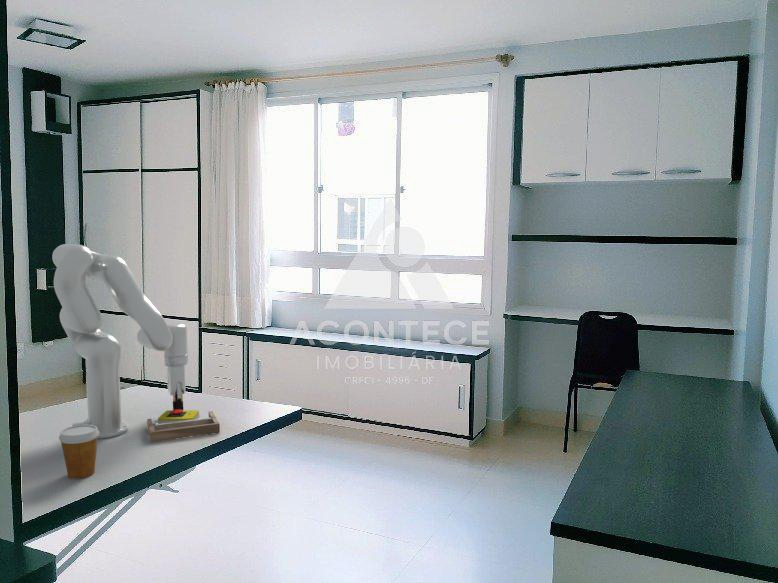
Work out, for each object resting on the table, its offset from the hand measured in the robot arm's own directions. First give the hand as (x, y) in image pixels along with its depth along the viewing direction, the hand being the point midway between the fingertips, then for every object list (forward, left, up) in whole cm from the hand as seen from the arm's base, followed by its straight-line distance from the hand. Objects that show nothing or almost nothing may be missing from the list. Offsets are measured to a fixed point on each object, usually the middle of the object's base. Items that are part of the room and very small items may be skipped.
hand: (178, 412), depth 211 cm
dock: (0, -16, -1) cm, 16 cm away
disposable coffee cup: (-29, -41, -2) cm, 50 cm away
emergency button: (0, -7, -2) cm, 7 cm away
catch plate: (0, -17, -1) cm, 17 cm away
